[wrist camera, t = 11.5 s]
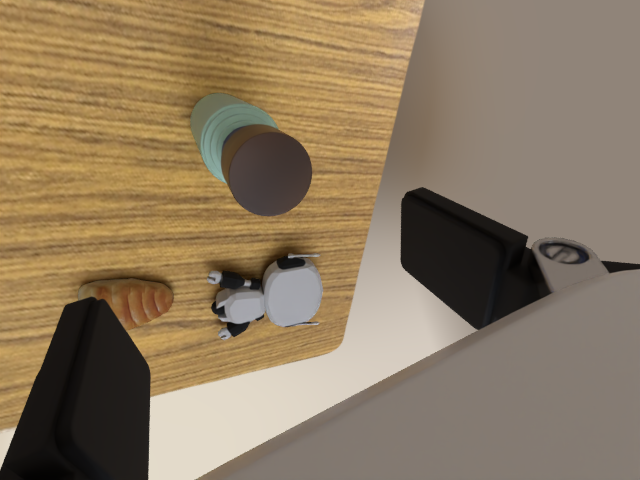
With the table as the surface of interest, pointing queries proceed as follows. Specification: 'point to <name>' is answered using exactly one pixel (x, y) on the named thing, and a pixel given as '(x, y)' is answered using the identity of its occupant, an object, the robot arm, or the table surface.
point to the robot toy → (269, 295)
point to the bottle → (221, 125)
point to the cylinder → (266, 169)
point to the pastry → (131, 299)
